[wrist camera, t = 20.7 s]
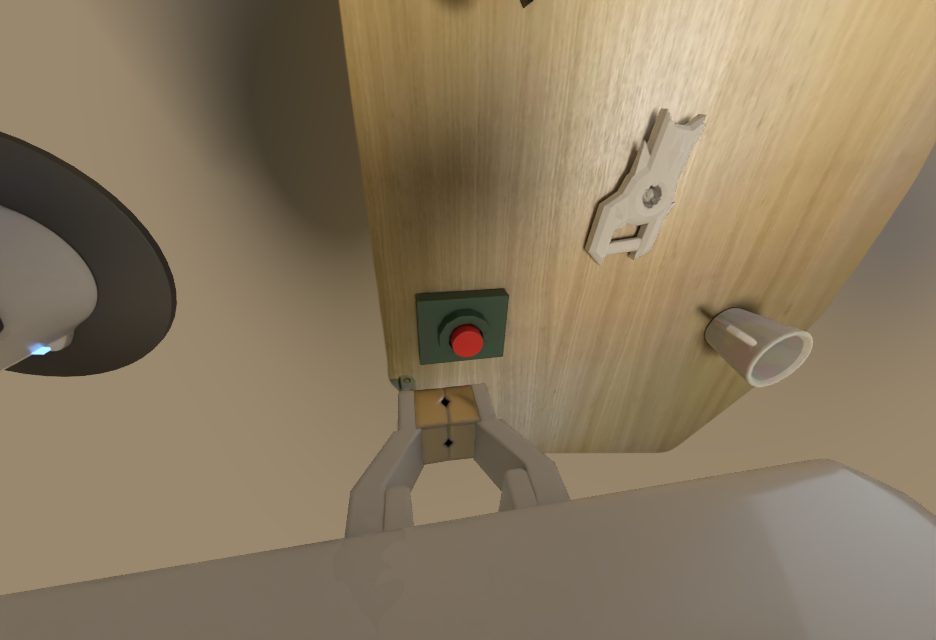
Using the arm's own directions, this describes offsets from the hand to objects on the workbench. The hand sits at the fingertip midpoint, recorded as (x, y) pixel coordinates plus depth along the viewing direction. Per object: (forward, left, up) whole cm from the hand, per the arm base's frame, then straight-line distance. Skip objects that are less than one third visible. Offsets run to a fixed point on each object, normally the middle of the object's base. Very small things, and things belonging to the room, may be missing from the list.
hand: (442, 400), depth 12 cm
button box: (+6, -16, -31) cm, 35 cm away
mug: (+51, -20, -31) cm, 63 cm away
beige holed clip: (+28, +1, -31) cm, 42 cm away
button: (+6, -16, -27) cm, 32 cm away
